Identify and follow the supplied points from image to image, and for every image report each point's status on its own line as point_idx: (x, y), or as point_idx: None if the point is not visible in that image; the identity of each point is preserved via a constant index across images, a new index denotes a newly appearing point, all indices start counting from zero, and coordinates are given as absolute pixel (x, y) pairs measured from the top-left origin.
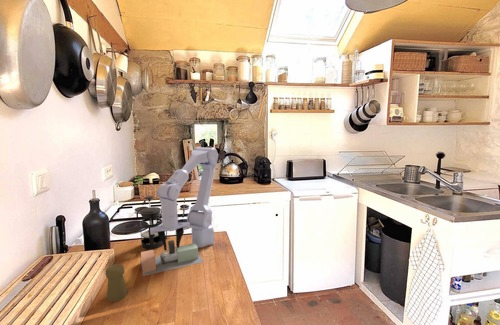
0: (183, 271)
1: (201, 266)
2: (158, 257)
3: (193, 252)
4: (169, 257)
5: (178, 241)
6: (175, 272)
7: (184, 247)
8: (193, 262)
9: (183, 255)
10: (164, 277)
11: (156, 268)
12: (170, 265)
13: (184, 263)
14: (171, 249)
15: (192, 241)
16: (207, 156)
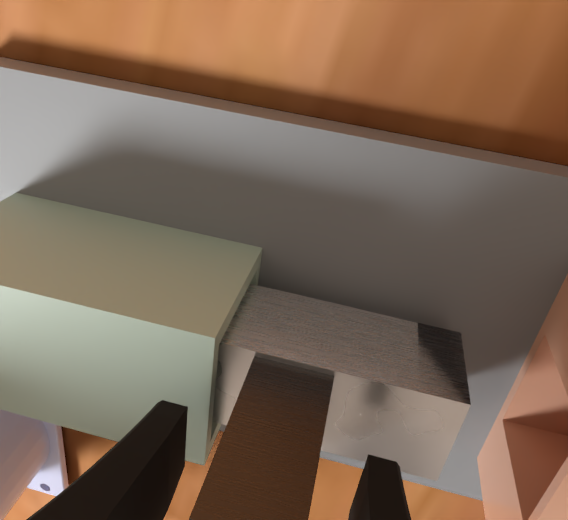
0: (259, 44)
1: (19, 20)
2: None
3: (11, 245)
4: (347, 342)
5: (100, 499)
6: (359, 87)
7: (89, 385)
8: (87, 128)
9: (158, 273)
10: (543, 52)
11: (551, 286)
12: (368, 243)
13: (197, 177)
14: (288, 426)
15: (14, 477)
16: None
